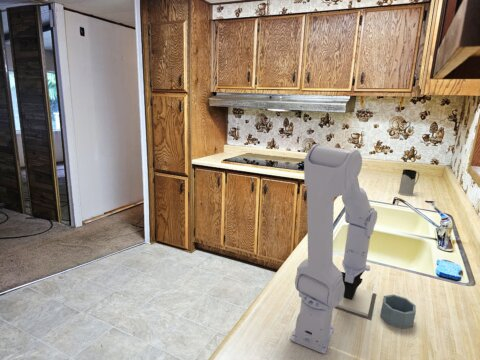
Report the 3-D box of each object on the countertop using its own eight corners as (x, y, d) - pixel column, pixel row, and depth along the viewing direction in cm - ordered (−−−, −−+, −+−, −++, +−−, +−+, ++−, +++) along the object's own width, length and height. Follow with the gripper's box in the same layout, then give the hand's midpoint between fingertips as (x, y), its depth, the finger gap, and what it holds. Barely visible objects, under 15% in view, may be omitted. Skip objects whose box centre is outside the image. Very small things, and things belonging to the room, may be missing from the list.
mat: (371, 321, 79) (371, 320, 79) (319, 304, 85) (319, 303, 85) (376, 295, 90) (376, 294, 90) (330, 281, 96) (330, 280, 96)
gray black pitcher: (394, 192, 199) (398, 169, 196) (409, 190, 206) (413, 168, 202) (407, 196, 192) (411, 172, 188) (422, 194, 198) (426, 171, 194)
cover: (367, 316, 80) (370, 300, 79) (324, 302, 85) (326, 286, 84) (372, 294, 90) (375, 279, 89) (333, 283, 95) (335, 268, 94)
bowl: (412, 333, 76) (415, 317, 75) (379, 322, 79) (381, 306, 78) (412, 316, 82) (415, 300, 81) (381, 306, 85) (384, 291, 84)
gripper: (369, 264, 76) (361, 313, 79) (375, 242, 88) (368, 285, 92) (339, 256, 79) (332, 303, 82) (349, 236, 91) (343, 277, 95)
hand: (349, 293), depth 87 cm, fingers open, 5 cm apart
